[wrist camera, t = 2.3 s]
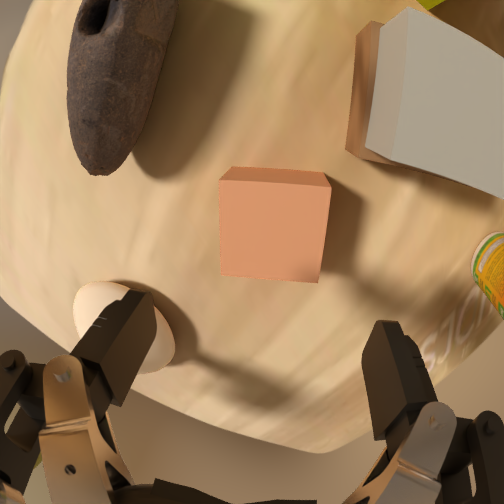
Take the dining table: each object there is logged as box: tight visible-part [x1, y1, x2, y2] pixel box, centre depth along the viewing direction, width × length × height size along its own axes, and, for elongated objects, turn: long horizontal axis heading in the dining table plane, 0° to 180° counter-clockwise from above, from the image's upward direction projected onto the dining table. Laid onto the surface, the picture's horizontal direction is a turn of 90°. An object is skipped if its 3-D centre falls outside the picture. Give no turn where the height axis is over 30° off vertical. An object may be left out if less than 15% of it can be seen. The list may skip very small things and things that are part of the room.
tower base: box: [345, 21, 472, 187], centre depth 13 cm, size 8×8×4 cm
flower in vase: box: [33, 281, 175, 469], centre depth 16 cm, size 13×11×25 cm
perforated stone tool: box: [67, 0, 179, 176], centre depth 12 cm, size 15×5×7 cm, turn 165°
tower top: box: [365, 7, 504, 200], centre depth 10 cm, size 7×7×4 cm
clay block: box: [219, 167, 332, 283], centre depth 18 cm, size 6×6×4 cm
